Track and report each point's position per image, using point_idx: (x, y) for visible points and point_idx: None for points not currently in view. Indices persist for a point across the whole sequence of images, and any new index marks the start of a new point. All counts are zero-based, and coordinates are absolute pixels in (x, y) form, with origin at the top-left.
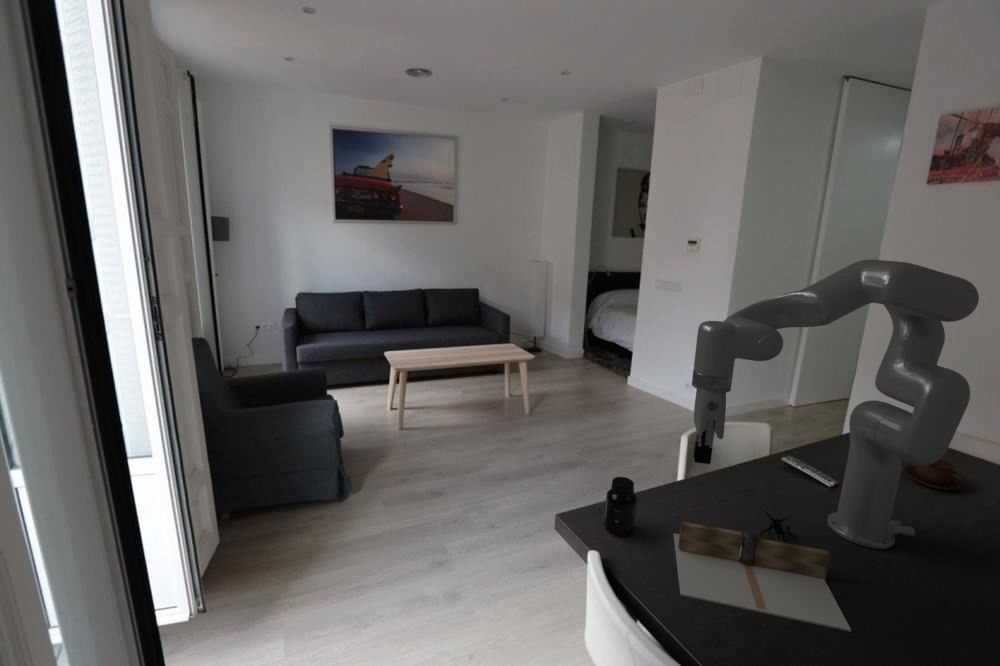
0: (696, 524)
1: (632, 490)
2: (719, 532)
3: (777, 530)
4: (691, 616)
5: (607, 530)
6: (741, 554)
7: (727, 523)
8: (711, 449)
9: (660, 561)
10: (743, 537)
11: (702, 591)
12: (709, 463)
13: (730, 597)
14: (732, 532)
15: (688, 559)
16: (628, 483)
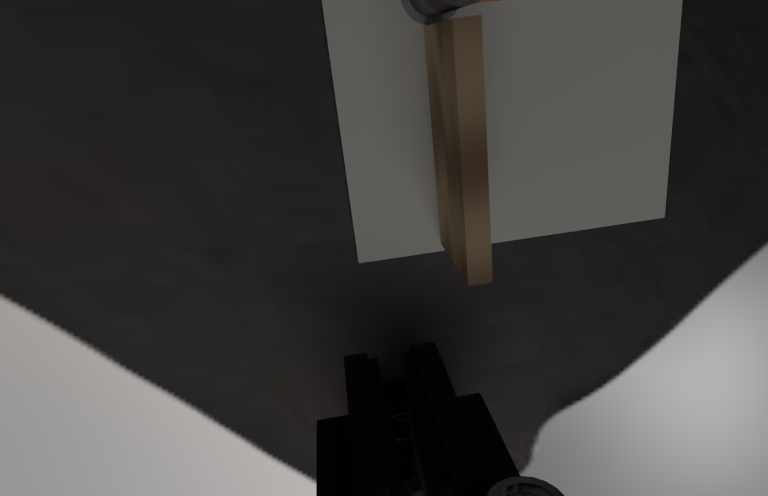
0: (469, 225)
1: None
2: (483, 124)
3: None
4: (733, 181)
5: None
6: (444, 13)
7: (155, 51)
8: (474, 450)
9: (523, 283)
10: (457, 7)
11: (639, 155)
12: (433, 347)
13: (646, 67)
14: (474, 64)
15: (494, 204)
16: None
